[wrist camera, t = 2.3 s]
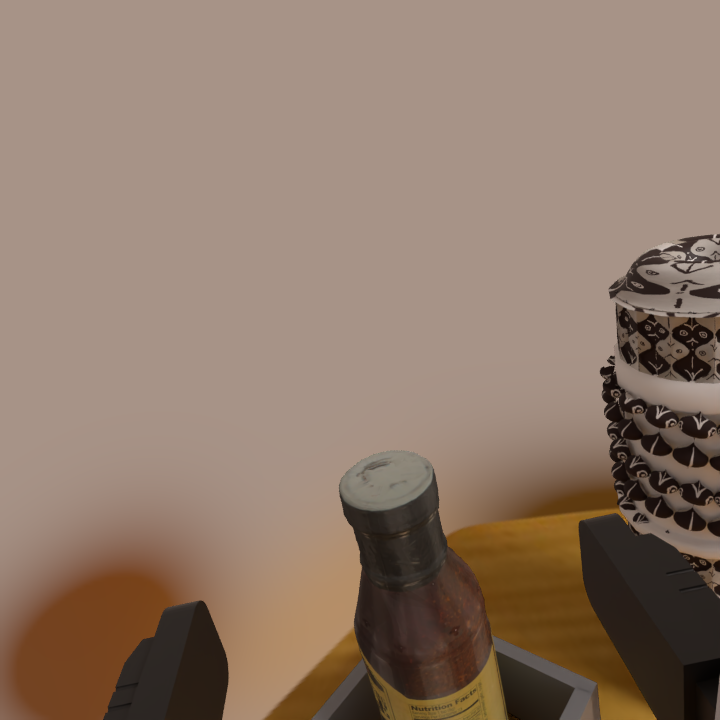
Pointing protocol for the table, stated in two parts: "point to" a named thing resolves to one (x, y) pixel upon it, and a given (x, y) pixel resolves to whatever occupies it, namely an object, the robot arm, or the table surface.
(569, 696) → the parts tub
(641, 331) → the decorative candle
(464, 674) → the sauce bottle
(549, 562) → the table surface
